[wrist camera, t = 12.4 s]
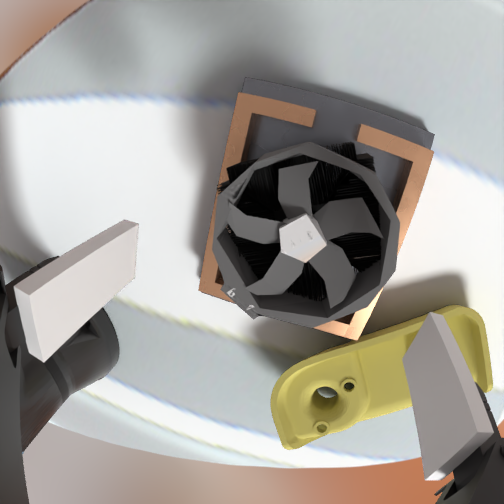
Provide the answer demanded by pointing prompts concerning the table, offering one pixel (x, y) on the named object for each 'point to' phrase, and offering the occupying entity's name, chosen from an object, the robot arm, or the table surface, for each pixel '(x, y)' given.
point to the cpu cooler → (305, 234)
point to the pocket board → (326, 133)
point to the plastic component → (366, 378)
